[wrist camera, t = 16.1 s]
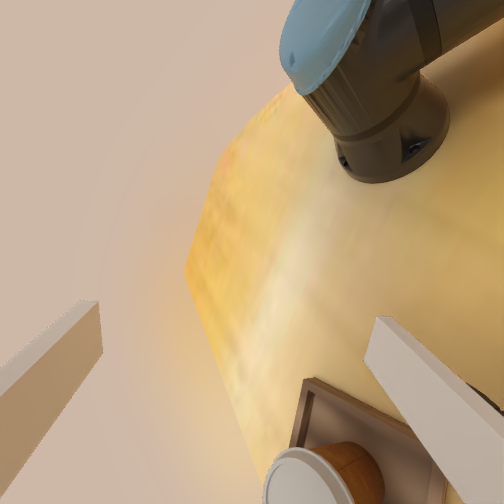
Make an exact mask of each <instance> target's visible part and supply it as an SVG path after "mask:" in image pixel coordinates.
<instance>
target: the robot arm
mask: <svg viewBox="0 0 504 504" xmlns="http://www.w3.org/2000/svg"><path fill="white" fill-rule="evenodd" d="M503 17H504V0H295V2H294V4H293V6H292V8H291V10H290V13H289V15H288V17H287V20H286V22H285V25H284V28H283V31H282V35H281V40H280V49H279V52H280V53H279V54H280V61H281V65H282V67H283V69H284V71H285V72H286V73H287V75H288V76H289V78H290V79H291V81H292V82H293V84H294V87H295V89H296V91H297V92H298V93H299V94H300V95H302V97H303V98H304V99H305V100H306V102H307V103H308V104H309V105H310V107H311V108H312V109H313V110H314V112H315V113H316V114H317V116H318V117H319V118H320V119H321V121H322V122H323V123H324V124H325V126H326V127H327V128H328V129H329V131H330V132H331V133H332V135H333V137H334V141H335V146H336V151H337V155H338V159H339V162H340V164H341V166H342V167H343V168H344V169H345V171H346V172H347V173H348V174H349V175H350V176H351V177H352V178H354V179H356V180H358V181H361V182H365V183H381V182H387V181H391V180H394V179H397V178H399V177H402V176H404V175H406V174H408V173H410V172H411V171H413V170H415V169H416V168H418V167H419V166H421V165H422V164H423V163H424V162H426V161H427V160H428V159H429V158H430V157H431V156H432V155H433V154H434V153H435V152H436V150H437V149H438V148H439V146H440V145H441V143H442V142H443V140H444V138H445V136H446V134H447V131H448V128H449V122H450V116H449V110H448V106H447V102H446V99H445V97H444V96H443V94H442V93H441V92H440V91H439V90H438V89H437V88H436V87H435V86H434V85H433V84H432V83H430V82H429V81H428V80H427V79H426V78H425V77H424V76H422V75H421V74H420V71H419V70H420V69H421V68H423V67H424V66H426V65H427V64H429V63H431V62H432V61H434V60H435V59H437V58H438V57H440V56H442V55H444V54H445V53H447V52H448V51H450V50H452V49H453V48H455V47H457V46H458V45H460V44H461V43H463V42H465V41H466V40H468V39H469V38H471V37H473V36H474V35H476V34H478V33H479V32H481V31H482V30H484V29H486V28H487V27H489V26H491V25H492V24H494V23H495V22H497V21H499V20H500V19H502V18H503ZM102 354H103V347H102V336H101V325H100V314H99V303H98V301H82V300H80V301H79V302H77V303H76V304H75V305H74V306H73V307H71V308H70V309H69V310H68V311H67V312H65V313H64V314H63V315H62V316H61V317H60V318H58V319H57V320H56V321H55V322H54V323H52V324H51V325H50V326H49V327H48V328H47V329H46V330H44V331H43V332H42V333H41V334H40V335H38V336H37V337H36V338H35V339H34V340H32V341H31V342H30V343H29V344H28V345H27V346H25V347H24V348H23V349H22V350H21V351H19V352H18V353H17V354H16V355H15V356H14V357H12V358H11V359H10V360H9V361H8V362H6V363H5V364H4V365H3V366H2V367H1V368H0V498H1V497H2V495H3V494H4V493H5V491H6V490H7V488H8V487H9V485H10V484H11V482H12V481H13V480H14V478H15V477H16V476H17V474H18V473H19V471H20V470H21V469H22V467H23V466H24V464H25V463H26V461H27V460H28V459H29V457H30V456H31V454H32V453H33V452H34V450H35V449H36V447H37V446H38V444H39V443H40V442H41V440H42V439H43V437H44V436H45V435H46V433H47V432H48V430H49V429H50V427H51V426H52V424H53V423H54V422H55V420H56V419H57V418H58V416H59V415H60V413H61V412H62V410H63V409H64V408H65V406H66V405H67V403H68V402H69V401H70V399H71V398H72V396H73V395H74V393H75V392H76V391H77V389H78V388H79V386H80V385H81V383H82V382H83V381H84V379H85V378H86V376H87V375H88V374H89V372H90V371H91V369H92V368H93V367H94V365H95V364H96V362H97V361H98V360H99V358H100V357H101V355H102ZM363 361H364V362H365V364H366V365H367V367H368V368H369V369H370V371H371V372H372V374H373V375H374V376H375V378H376V379H377V381H378V382H379V383H380V385H381V386H382V388H383V389H384V391H385V392H386V393H387V395H388V396H389V398H390V399H391V400H392V402H393V403H394V405H395V406H396V407H397V409H398V410H399V412H400V413H401V414H402V416H403V417H404V419H405V420H406V422H407V423H408V424H409V426H410V427H411V429H412V430H413V431H414V433H415V434H416V436H417V437H418V438H419V440H420V441H421V443H422V444H423V446H424V447H425V448H426V450H427V451H428V453H429V454H430V455H431V457H432V458H433V460H434V461H435V462H436V464H437V465H438V467H439V468H440V470H441V471H442V472H443V474H444V475H445V477H446V478H447V479H448V481H449V482H450V484H451V485H452V486H453V488H454V489H455V491H456V492H457V494H458V495H459V496H460V498H461V499H462V501H463V502H464V503H465V504H504V411H501V410H500V408H499V407H498V406H497V405H496V404H495V403H494V402H493V401H491V400H490V399H489V398H488V397H487V396H486V395H484V394H483V393H481V392H480V391H478V390H477V389H475V388H474V387H472V386H471V385H469V384H468V383H465V382H464V381H463V380H462V379H460V378H459V377H458V376H457V375H456V374H455V373H454V372H453V371H451V370H450V369H449V368H448V367H447V366H446V365H445V364H444V363H442V362H441V361H440V360H439V359H438V358H437V357H436V356H435V355H434V354H432V353H431V352H430V351H429V350H428V349H427V348H426V347H425V346H423V345H422V344H421V343H420V342H419V341H418V340H417V339H416V338H415V337H413V336H412V335H411V334H410V333H409V332H408V331H407V330H406V329H404V328H403V327H402V326H401V325H400V324H399V323H398V322H397V321H395V320H394V319H393V318H392V317H390V316H377V317H376V320H375V324H374V327H373V330H372V334H371V337H370V340H369V344H368V347H367V350H366V354H365V357H364V360H363Z"/></svg>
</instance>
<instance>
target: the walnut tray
mask: <svg viewBox="0 0 504 504" xmlns="http://www.w3.org/2000/svg"><path fill="white" fill-rule="evenodd" d="M345 441H349V442H354V443H356V444H358V445H360V446H362V447H363V448H364V449H366V450H367V451H368V452H369V453H370V454H371V456H372V457H373V458H374V460H375V461H376V463H377V464H378V466H379V468H380V471H381V473H382V476H383V480H384V485H385V496H384V499H383V502H382V504H445V497H446V490H447V482H448V479H447V478H446V477H445V475H444V474H443V472H442V471H441V470H440V468H439V467H438V465H437V464H436V462H435V461H434V460H433V458H432V457H431V455H430V454H429V453H428V451H427V450H426V448H425V447H424V446H423V444H422V443H421V441H420V440H419V438H418V437H417V436H416V434H415V433H414V431H413V430H412V429H411V427H409V426H407V425H405V424H403V423H401V422H399V421H398V420H396V419H394V418H392V417H390V416H388V415H386V414H384V413H382V412H380V411H378V410H376V409H374V408H372V407H371V406H369V405H367V404H365V403H363V402H361V401H359V400H357V399H355V398H353V397H351V396H349V395H347V394H345V393H343V392H342V391H340V390H338V389H336V388H334V387H332V386H330V385H328V384H326V383H324V382H322V381H320V380H318V379H316V378H307V379H304V380H303V384H302V389H301V394H300V398H299V403H298V407H297V412H296V417H295V421H294V426H293V431H292V435H291V440H290V444H289V448H293V447H300V448H306V449H310V448H315V447H321V446H325V445H330V444H336V443H341V442H345Z"/></svg>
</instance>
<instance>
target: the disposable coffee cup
mask: <svg viewBox="0 0 504 504" xmlns="http://www.w3.org/2000/svg"><path fill="white" fill-rule="evenodd" d="M384 496H385V485H384V480H383V476H382V473H381V471H380V468H379V466H378V464H377V463H376V461H375V460H374V458H373V457H372V456H371V454H370V453H369V452H368V451H367V450H366V449H364V448H363V447H362V446H360V445H358V444H356V443H354V442H349V441H345V442H341V443H336V444H330V445H325V446H321V447H315V448H310V449H306V448H300V447H293V448H289V449H286V450H284V451H283V452H281V453H280V454H279V455H278V456H277V457H276V459H275V460H274V462H273V464H272V466H271V468H270V469H269V471H268V474H267V476H266V479H265V483H264V488H263V504H382V502H383V499H384Z"/></svg>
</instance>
